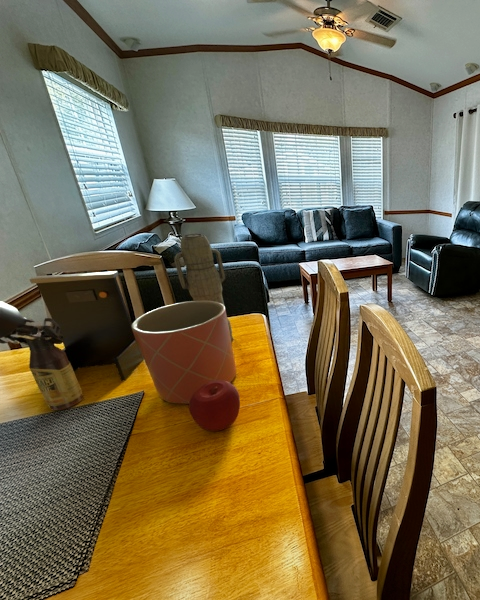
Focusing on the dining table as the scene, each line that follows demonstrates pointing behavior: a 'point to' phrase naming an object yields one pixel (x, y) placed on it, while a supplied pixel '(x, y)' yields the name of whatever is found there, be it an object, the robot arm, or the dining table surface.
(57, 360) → the sauce bottle
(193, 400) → the apple
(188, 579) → the dining table surface
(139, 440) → the dining table surface
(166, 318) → the planter
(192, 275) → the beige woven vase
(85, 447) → the dining table surface
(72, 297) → the dispenser
